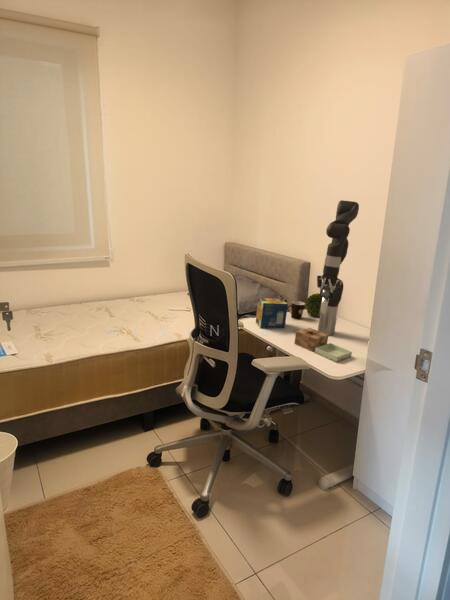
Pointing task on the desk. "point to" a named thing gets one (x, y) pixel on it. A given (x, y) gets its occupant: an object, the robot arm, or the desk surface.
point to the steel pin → (324, 301)
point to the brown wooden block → (310, 339)
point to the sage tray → (333, 352)
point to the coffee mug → (296, 309)
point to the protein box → (271, 313)
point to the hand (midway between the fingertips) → (326, 298)
